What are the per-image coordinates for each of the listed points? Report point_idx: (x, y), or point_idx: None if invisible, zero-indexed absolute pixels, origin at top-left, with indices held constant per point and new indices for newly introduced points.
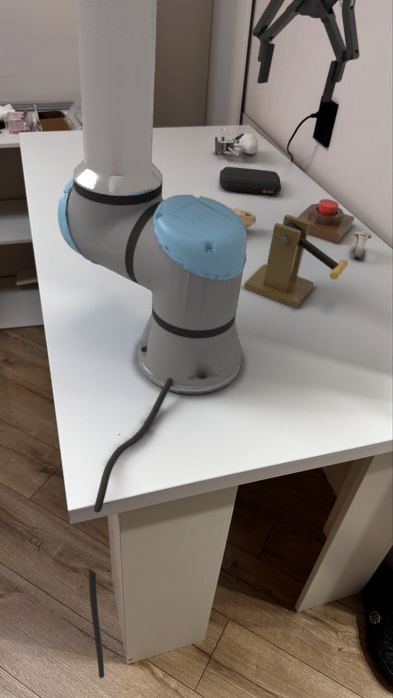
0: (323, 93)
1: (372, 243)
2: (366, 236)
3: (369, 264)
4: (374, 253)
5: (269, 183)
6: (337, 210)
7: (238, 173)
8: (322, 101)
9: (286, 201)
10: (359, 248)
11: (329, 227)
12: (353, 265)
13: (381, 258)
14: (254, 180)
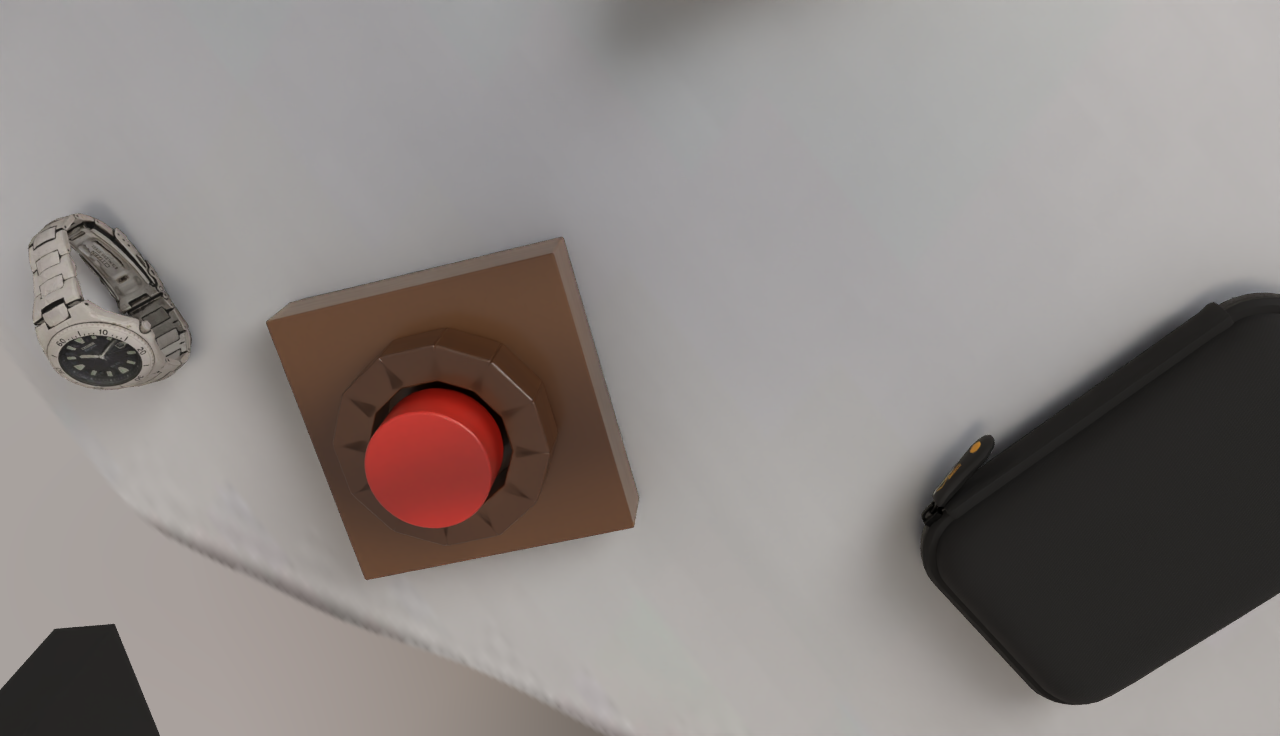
0: (44, 704)
1: (188, 468)
2: (40, 316)
3: None
4: None
5: (993, 525)
6: None
7: (1258, 474)
8: (91, 629)
9: (834, 510)
10: (45, 231)
11: (355, 344)
12: (71, 165)
13: None
14: (1095, 474)
